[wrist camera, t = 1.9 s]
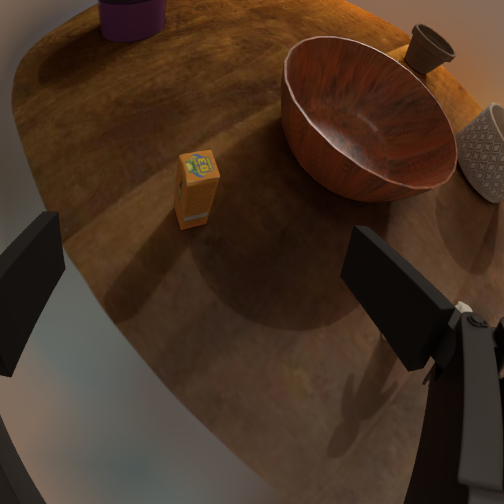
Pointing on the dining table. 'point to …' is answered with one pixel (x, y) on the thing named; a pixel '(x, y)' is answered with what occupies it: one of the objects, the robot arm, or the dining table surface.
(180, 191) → the supplement box
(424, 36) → the flower pot
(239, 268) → the dining table surface
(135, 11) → the jar
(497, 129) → the planter
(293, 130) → the bowl
